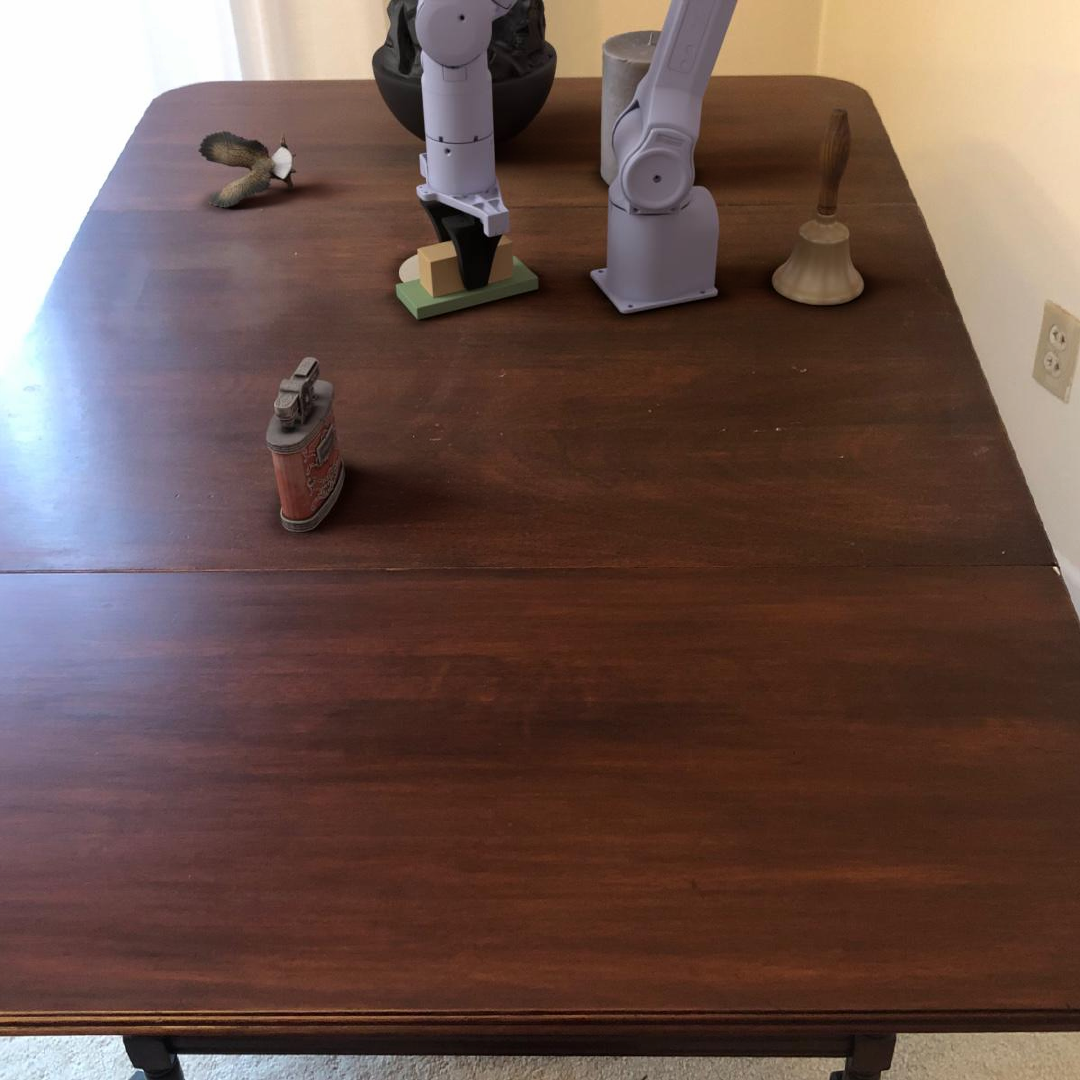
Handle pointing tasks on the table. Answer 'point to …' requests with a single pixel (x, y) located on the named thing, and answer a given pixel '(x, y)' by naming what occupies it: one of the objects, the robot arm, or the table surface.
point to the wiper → (445, 286)
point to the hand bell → (824, 233)
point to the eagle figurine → (246, 165)
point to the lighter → (305, 448)
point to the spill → (410, 269)
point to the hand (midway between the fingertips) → (467, 278)
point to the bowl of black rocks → (511, 59)
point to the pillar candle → (621, 85)
